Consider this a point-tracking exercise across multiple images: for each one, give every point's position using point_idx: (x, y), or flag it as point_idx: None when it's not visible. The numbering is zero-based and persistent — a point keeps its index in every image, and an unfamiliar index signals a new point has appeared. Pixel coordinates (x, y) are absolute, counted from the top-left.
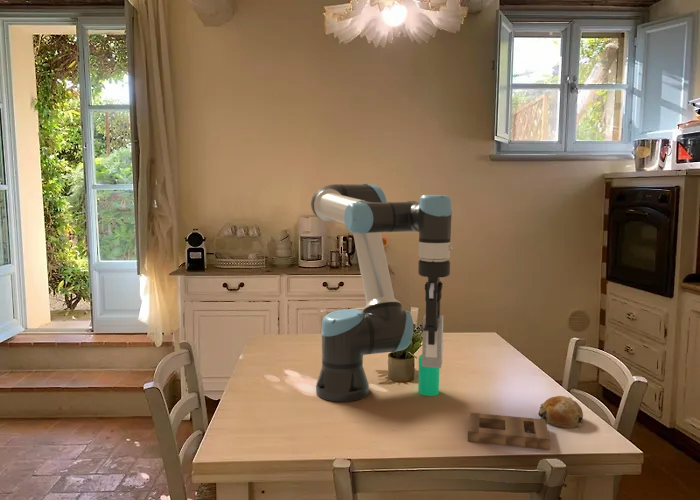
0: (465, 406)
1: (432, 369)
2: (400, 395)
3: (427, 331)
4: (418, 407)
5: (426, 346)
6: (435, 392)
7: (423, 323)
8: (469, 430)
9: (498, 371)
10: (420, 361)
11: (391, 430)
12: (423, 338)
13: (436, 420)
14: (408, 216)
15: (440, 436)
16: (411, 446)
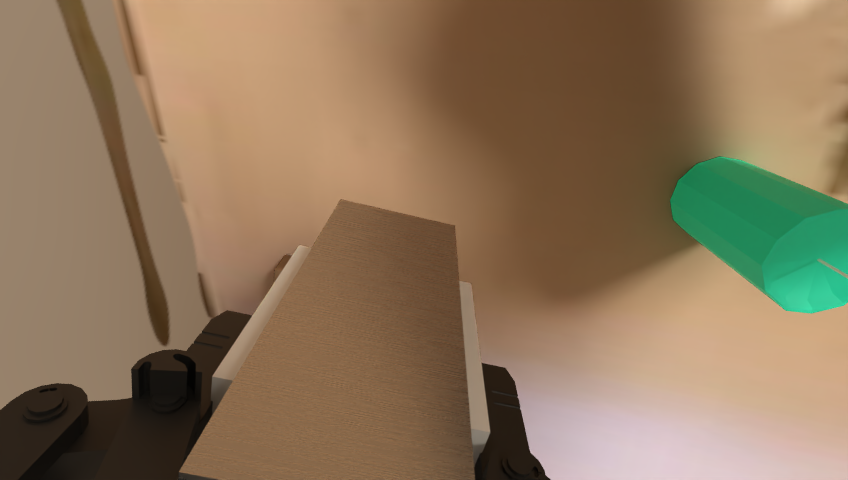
0: (551, 297)
1: (732, 250)
2: (704, 75)
3: (217, 381)
4: (561, 138)
5: (275, 287)
6: (678, 222)
7: (216, 411)
8: (279, 274)
9: (844, 452)
10: (802, 208)
11: (344, 4)
12: (281, 300)
13: (438, 187)
14: None
15: (311, 181)
16: (221, 72)
